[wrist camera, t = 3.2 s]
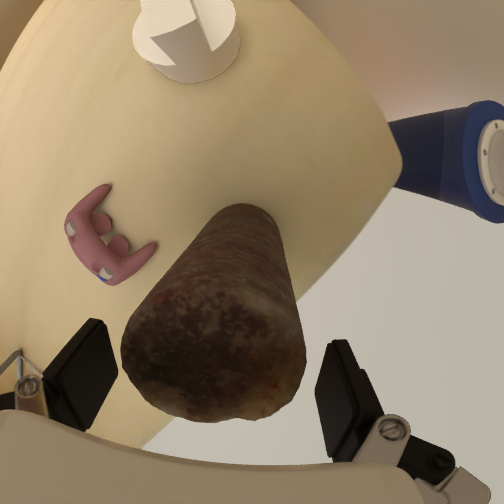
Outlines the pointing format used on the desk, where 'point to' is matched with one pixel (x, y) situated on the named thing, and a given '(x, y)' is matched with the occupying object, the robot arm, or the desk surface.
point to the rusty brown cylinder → (220, 326)
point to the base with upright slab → (187, 37)
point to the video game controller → (101, 242)
